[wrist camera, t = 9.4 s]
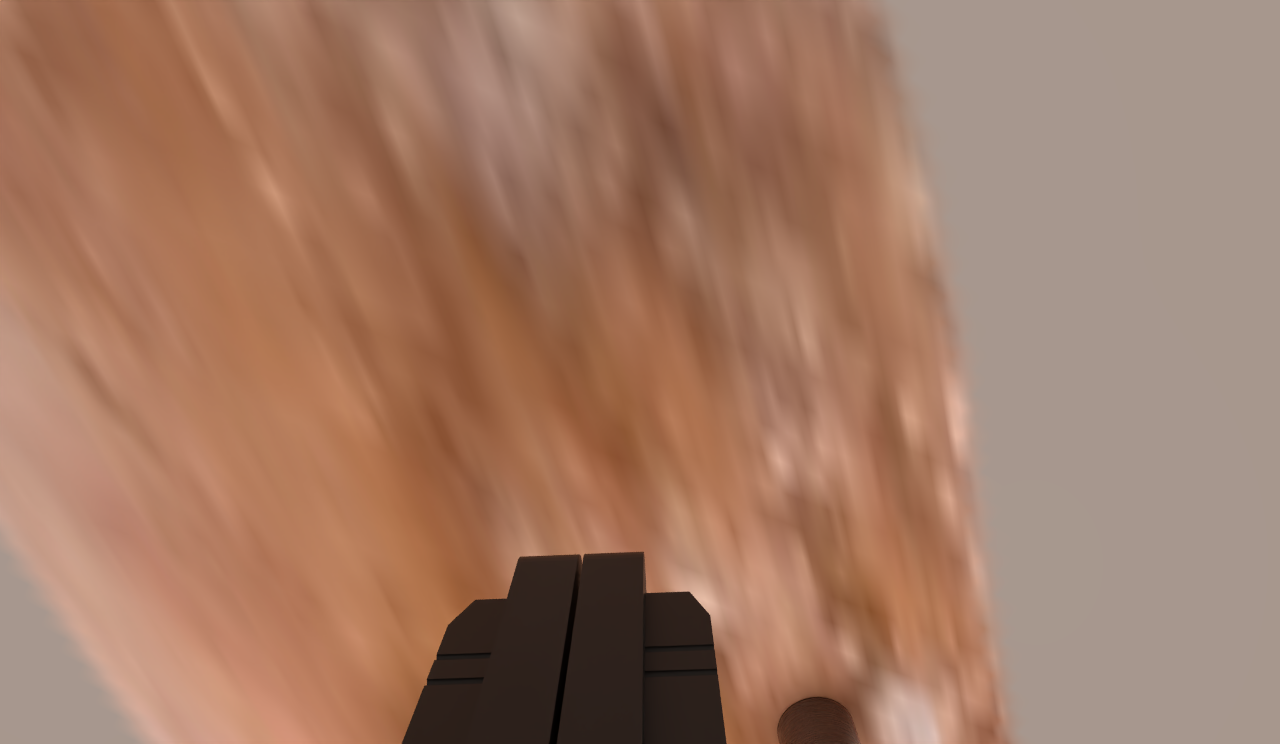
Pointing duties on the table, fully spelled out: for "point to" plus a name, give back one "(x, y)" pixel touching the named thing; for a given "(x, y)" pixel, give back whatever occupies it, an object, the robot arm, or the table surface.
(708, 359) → the table surface
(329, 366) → the table surface
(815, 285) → the table surface
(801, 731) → the post
